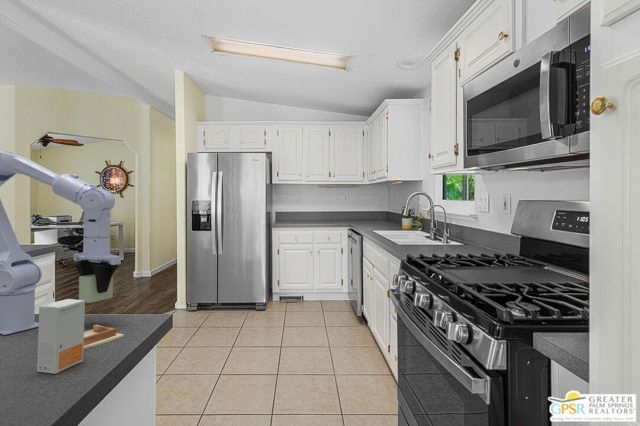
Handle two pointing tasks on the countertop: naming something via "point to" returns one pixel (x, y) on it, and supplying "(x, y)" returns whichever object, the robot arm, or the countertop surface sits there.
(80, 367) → the countertop surface
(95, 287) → the chute block
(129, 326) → the countertop surface
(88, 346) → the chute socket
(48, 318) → the skincare box
